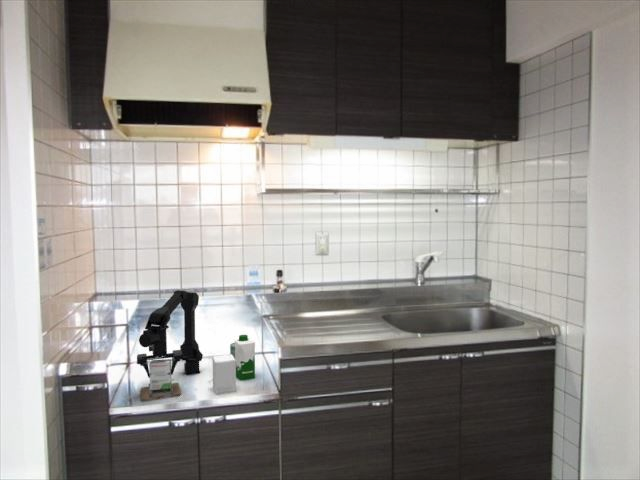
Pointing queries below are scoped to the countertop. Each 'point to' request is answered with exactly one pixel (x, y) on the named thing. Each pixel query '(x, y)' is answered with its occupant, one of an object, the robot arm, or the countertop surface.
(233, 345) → the canned tomato
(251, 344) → the milk carton
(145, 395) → the base plate
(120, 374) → the countertop surface
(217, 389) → the supplement box
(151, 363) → the ink box
